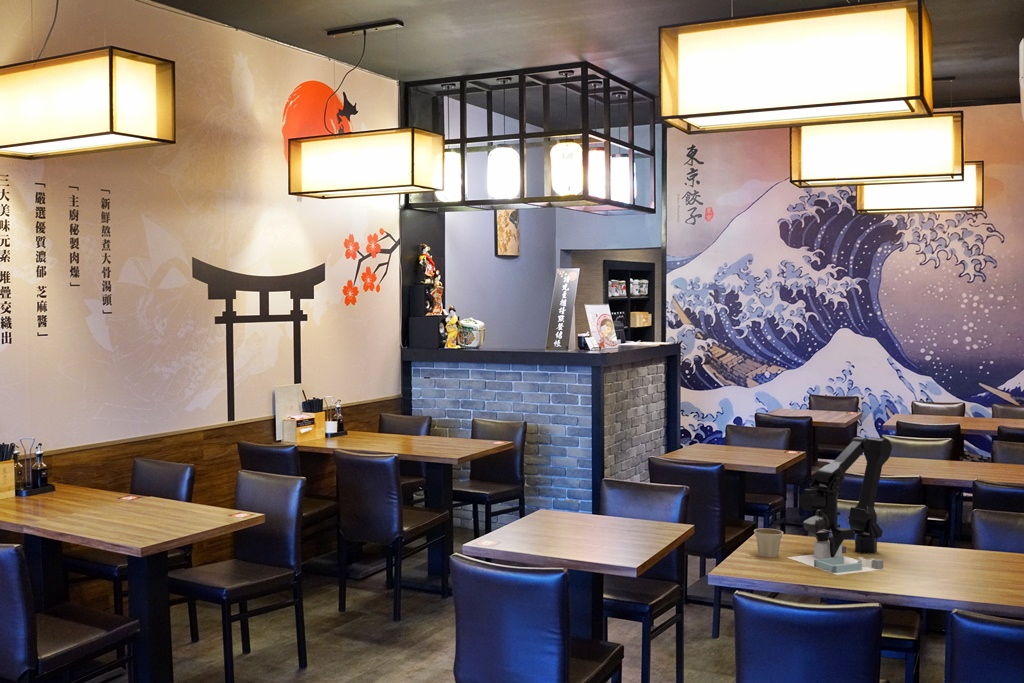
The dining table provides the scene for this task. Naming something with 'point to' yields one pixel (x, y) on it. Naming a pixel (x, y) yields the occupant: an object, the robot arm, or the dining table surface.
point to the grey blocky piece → (877, 564)
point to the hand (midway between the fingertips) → (827, 555)
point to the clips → (866, 562)
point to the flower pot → (768, 542)
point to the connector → (826, 550)
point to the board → (810, 561)
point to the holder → (830, 562)
